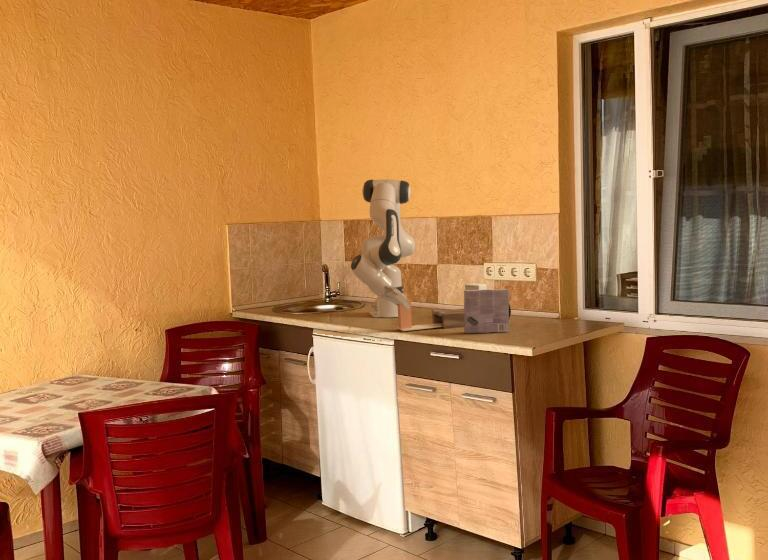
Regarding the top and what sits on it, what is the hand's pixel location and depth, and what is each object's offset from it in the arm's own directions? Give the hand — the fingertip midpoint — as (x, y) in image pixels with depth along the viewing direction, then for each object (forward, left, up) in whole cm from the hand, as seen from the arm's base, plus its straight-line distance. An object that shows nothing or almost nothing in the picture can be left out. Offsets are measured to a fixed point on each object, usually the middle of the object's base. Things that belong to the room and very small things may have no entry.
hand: (404, 306), depth 348 cm
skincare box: (-15, +41, -10) cm, 45 cm away
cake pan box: (+25, +26, -10) cm, 38 cm away
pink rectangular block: (0, +8, -10) cm, 13 cm away
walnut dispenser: (0, +24, -10) cm, 26 cm away
